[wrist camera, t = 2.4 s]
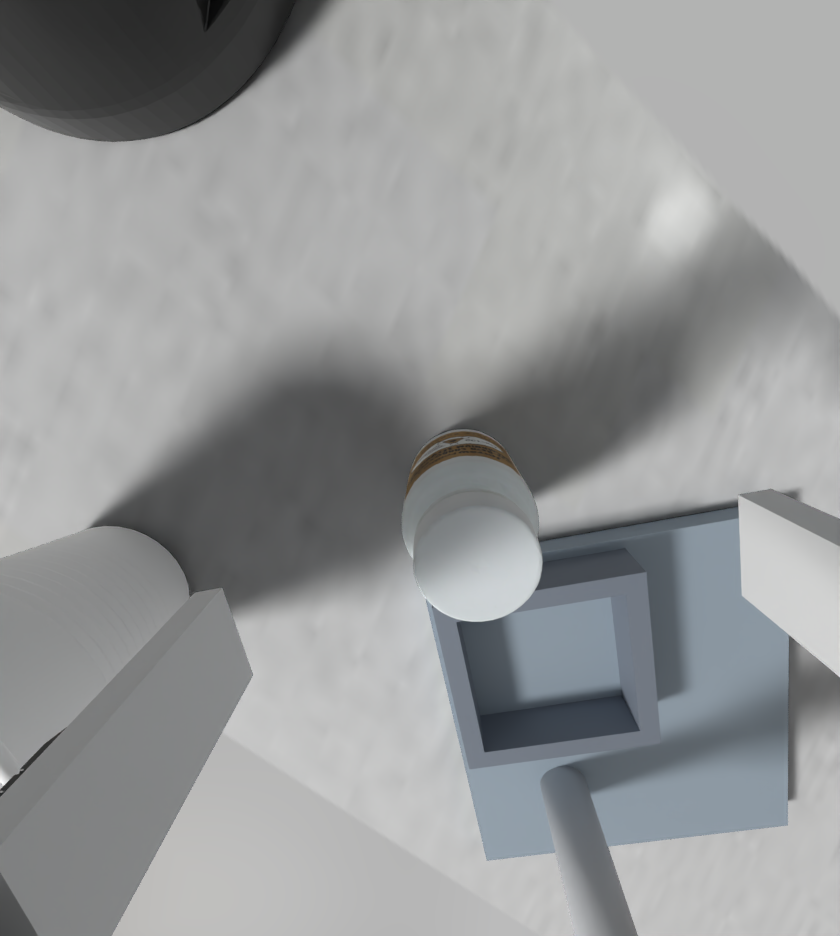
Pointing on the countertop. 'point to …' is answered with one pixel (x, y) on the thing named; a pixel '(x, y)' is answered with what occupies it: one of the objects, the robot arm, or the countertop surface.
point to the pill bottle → (471, 527)
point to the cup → (75, 627)
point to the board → (622, 705)
